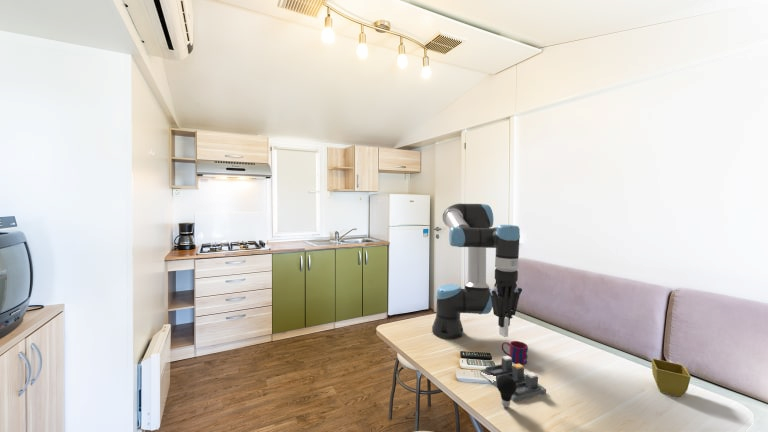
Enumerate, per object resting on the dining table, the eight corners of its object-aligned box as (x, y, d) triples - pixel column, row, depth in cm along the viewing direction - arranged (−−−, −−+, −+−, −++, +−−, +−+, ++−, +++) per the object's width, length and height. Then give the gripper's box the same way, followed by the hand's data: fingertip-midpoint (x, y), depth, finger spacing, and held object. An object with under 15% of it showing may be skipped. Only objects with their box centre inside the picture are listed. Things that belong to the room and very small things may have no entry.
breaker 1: (501, 367, 118) (501, 356, 118) (507, 366, 119) (508, 355, 119) (505, 370, 116) (506, 359, 115) (512, 369, 117) (512, 358, 116)
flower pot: (689, 403, 102) (691, 376, 101) (654, 393, 106) (656, 368, 106) (681, 389, 109) (683, 365, 109) (649, 381, 114) (651, 357, 113)
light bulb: (492, 401, 100) (493, 371, 100) (509, 400, 101) (511, 370, 100) (500, 413, 95) (502, 381, 94) (519, 412, 95) (520, 381, 95)
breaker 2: (525, 385, 107) (525, 373, 106) (532, 383, 108) (532, 371, 107) (530, 389, 104) (531, 376, 104) (537, 387, 105) (538, 375, 105)
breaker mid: (512, 376, 112) (512, 364, 112) (518, 374, 113) (519, 363, 113) (517, 379, 110) (517, 367, 110) (523, 378, 111) (524, 366, 111)
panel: (480, 373, 116) (480, 367, 116) (510, 367, 121) (510, 362, 121) (513, 401, 100) (513, 394, 100) (546, 393, 105) (546, 387, 105)
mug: (523, 366, 122) (524, 350, 122) (498, 357, 129) (499, 341, 129) (529, 360, 127) (530, 344, 127) (505, 352, 134) (505, 337, 133)
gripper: (498, 272, 102) (495, 342, 103) (529, 270, 106) (526, 337, 107) (483, 267, 109) (481, 333, 110) (513, 266, 113) (510, 328, 114)
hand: (503, 335), depth 109 cm, fingers closed
